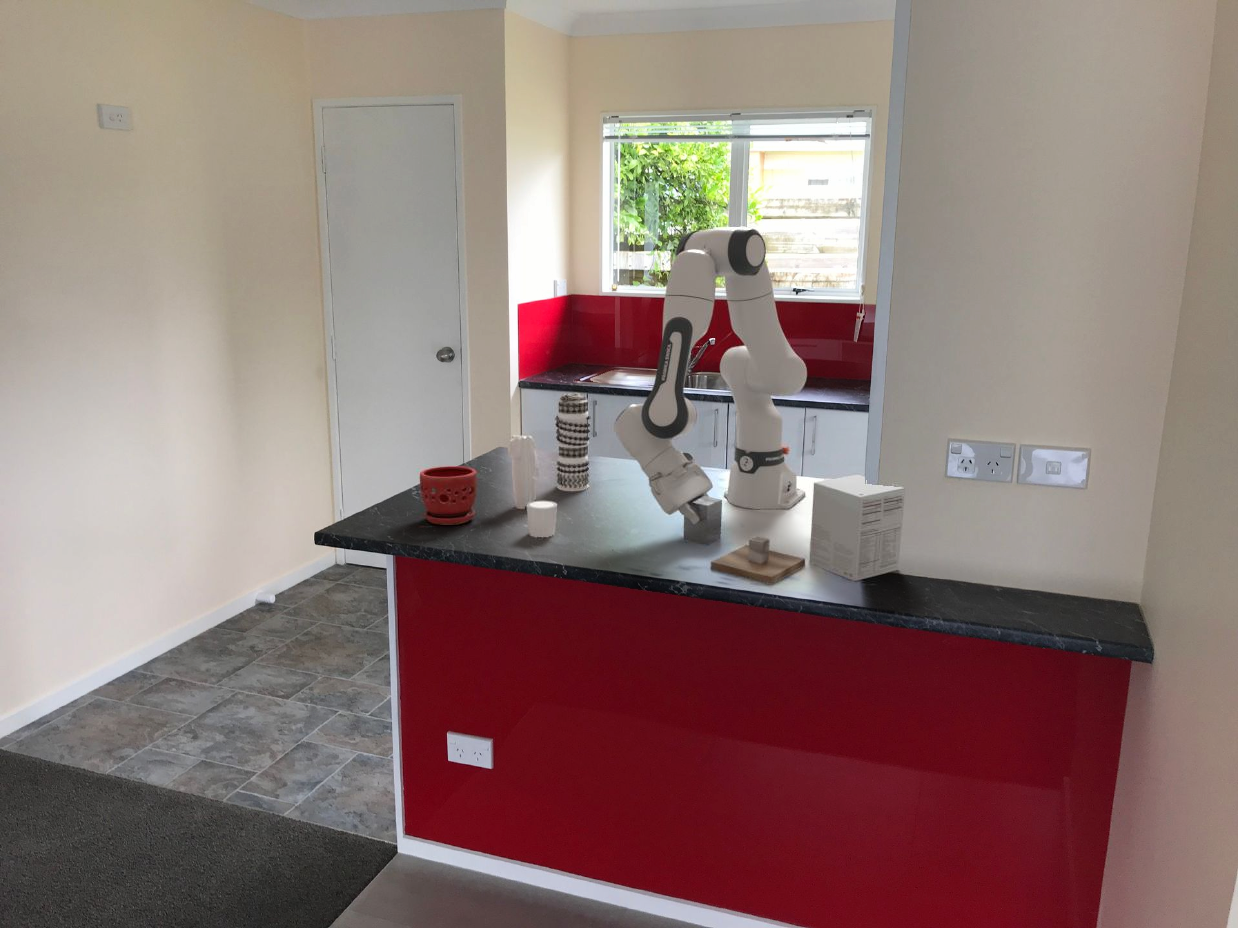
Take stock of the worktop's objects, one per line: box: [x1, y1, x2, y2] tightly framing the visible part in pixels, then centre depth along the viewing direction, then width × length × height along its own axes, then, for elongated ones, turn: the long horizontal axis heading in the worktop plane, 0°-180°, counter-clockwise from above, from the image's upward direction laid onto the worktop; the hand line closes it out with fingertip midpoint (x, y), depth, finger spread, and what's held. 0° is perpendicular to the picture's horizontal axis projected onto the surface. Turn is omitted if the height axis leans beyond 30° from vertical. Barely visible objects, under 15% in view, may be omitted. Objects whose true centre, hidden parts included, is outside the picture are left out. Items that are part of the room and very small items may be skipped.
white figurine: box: [507, 434, 540, 510], centre depth 238 cm, size 7×18×7 cm
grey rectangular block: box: [682, 495, 723, 546], centre depth 216 cm, size 6×6×9 cm
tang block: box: [710, 535, 806, 585], centre depth 199 cm, size 14×14×6 cm
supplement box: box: [808, 474, 906, 582], centre depth 198 cm, size 13×13×18 cm
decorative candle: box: [554, 392, 592, 492], centre depth 256 cm, size 9×9×25 cm
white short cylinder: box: [526, 500, 558, 539], centre depth 219 cm, size 7×7×7 cm
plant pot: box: [419, 465, 478, 526], centre depth 228 cm, size 13×13×12 cm
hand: (705, 517), depth 215 cm, fingers closed on grey rectangular block, 6 cm apart
